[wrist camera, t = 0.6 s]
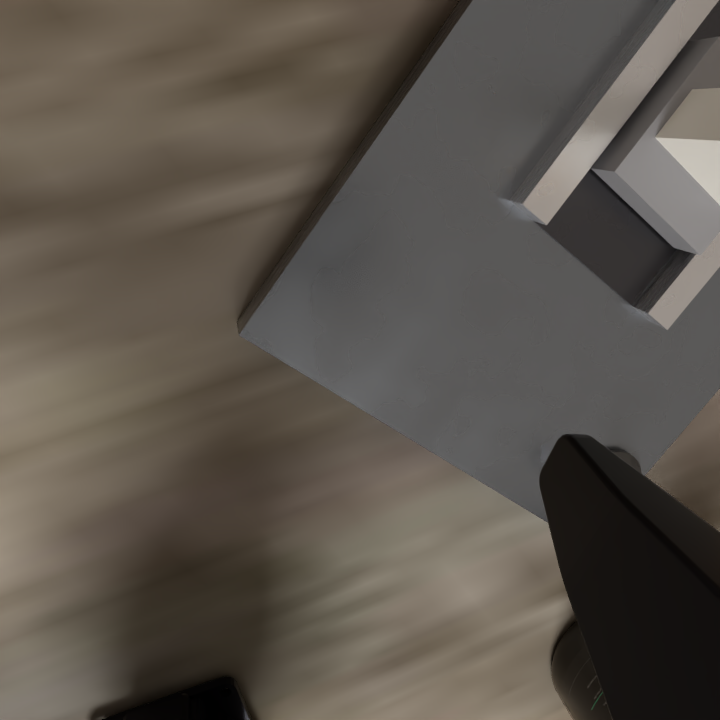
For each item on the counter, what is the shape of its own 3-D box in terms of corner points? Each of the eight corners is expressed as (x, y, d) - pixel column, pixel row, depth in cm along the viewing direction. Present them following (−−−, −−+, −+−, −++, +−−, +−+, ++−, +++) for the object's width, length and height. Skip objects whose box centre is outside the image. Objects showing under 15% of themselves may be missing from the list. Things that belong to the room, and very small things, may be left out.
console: (567, 525, 30) (597, 559, 28) (236, 322, 23) (240, 344, 21) (946, 77, 26) (1017, 74, 24) (685, -325, 19) (749, -383, 17)
